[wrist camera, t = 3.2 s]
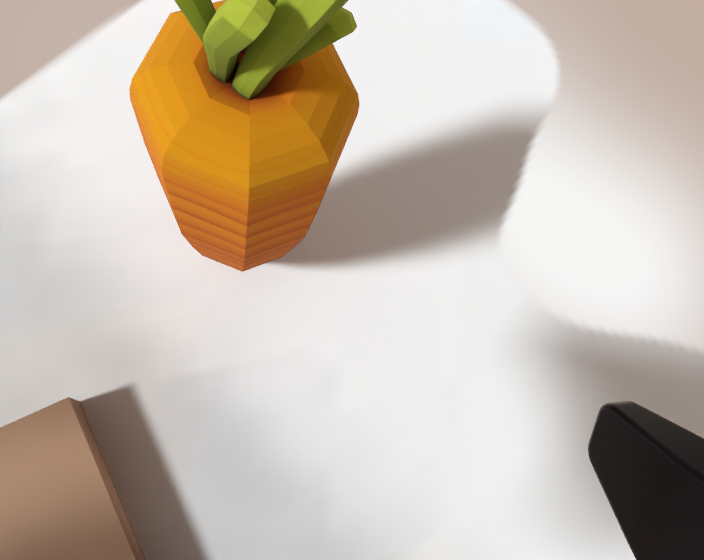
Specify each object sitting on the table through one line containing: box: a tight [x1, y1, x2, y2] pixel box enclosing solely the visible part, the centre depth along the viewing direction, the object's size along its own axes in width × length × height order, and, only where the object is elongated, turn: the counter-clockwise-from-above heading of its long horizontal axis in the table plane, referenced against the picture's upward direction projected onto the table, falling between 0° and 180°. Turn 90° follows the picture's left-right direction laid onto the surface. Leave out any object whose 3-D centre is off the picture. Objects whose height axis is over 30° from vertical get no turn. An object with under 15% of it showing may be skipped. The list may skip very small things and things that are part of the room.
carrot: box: [129, 0, 359, 272], centre depth 16 cm, size 5×5×15 cm
